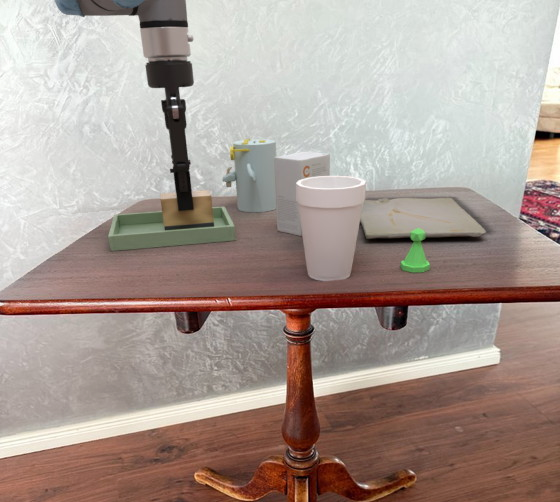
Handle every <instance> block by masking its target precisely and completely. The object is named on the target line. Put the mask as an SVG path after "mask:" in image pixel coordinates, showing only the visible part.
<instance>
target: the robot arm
mask: <svg viewBox="0 0 560 502" xmlns="http://www.w3.org/2000/svg"><path fill="white" fill-rule="evenodd" d="M54 3H55V5H56V7H57V9H58V10H59V11H60V13H62V14H63V15H66V16H77V17H78V16H79V17H82V18H85V17H90V16H91V17H103V16H104V17H109V16H112V17H114V16H129V17H135V16H137V17H138V20H139V28H140V29H139V30H140V39H141V47H142V53H143V57H144V58H145V59H147V62H145V73H146V80H147V85H148V87H149V88H150V89H164V94H165V96H164V97H165V99H161V100H160V103H161V109H162V110H161V111H162V113H163V116H164V124H165V128H166V130H167V131H168V134H169V143H170V152H171V155H170V158H171V164H172V165H173V166H172V168H169V172H170V174H173V180H174V181H173V182H174V189H175V192H176V195H177V203H178V211H184V210H194V207H193V198H192V191H193V190H192V180H191V172H190V167H191V164H192V163H191V159H189V154H188V144H187V137H186V129H187V124H188V123H187V116H186V111H187V103H186V99H185V98H181V95H180V94H181V93H180V88H189V87H190V88H191V87H193V86H194V84H195V81H194V79H195V78H194V71H193V69H194V68H193V63H192V62H191V60H188V57H191V55H192V53H191V44H190V43H192V42H193V41H194V36H193V34H189V22H188V12H187V10H188V9H187V0H54Z"/></svg>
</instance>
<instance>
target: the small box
mask: <svg viewBox="0 0 560 502" xmlns="http://www.w3.org/2000/svg"><path fill="white" fill-rule="evenodd" d="M330 155H331V154H330V153H324V152H316V151H315V152H314V151H300V152H295V153H289V154H284V155H280V156H276V157H275V158H274V160H275V187H276V209H275V210H276V211H275V212H276V230H277V231H278V232H281V233H284V234H285V233H286V234H290V235H294V236H298V237H302V229H301V222H300V215H299V207H298V202H297V201H296V183H297V182H298V181H299V180H301V179H305V178H309V177H318V176H330V165H331V163H330V162H331V161H330V159H331V156H330Z"/></svg>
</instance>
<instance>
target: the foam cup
mask: <svg viewBox="0 0 560 502" xmlns="http://www.w3.org/2000/svg"><path fill="white" fill-rule="evenodd" d="M366 187H367V181H366V180H364V179H363V178H361V177H355V176H351V175H350V176H347V175H329V176H318V177H309V178H305V179H301V180H299V181H298V182H297V183H296V201H297V202H298V207H299V215H300V222H301V229H302V236H301V237H302V243H303V251H304V257H305V266H306V271H307V276H308V277H309V278H310V279H313V280H315V281H319V282H330V281H340V280H346V279H348V278H350V277H351V273H352V270H353V264H354V258H355V252H356V245H357V240H358V234H359V228H360V224H361V222H360V217H361V212H362V206H363V202H364V200H366V189H367V188H366Z"/></svg>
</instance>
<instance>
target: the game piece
mask: <svg viewBox="0 0 560 502" xmlns="http://www.w3.org/2000/svg"><path fill="white" fill-rule="evenodd" d="M409 238H410V240H411V241H413V243H412V245H411V246H410V249H409V250H408V252H407V254H406V256H405V258H404V259H403V260H401V261H400V269H401V270H402V271H404V272H409V273H411V274H412V273H425V272H427V271H429V270H430V268H431V264H430V262H429V261H428V260H427V258H426V254H425V251H424V248H423V245H422V241H423V240H425V239H426V237H425V232H424V231H423V230H421V229H420V228H417V229H415V230H413V231H411V232H410V237H409Z"/></svg>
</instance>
